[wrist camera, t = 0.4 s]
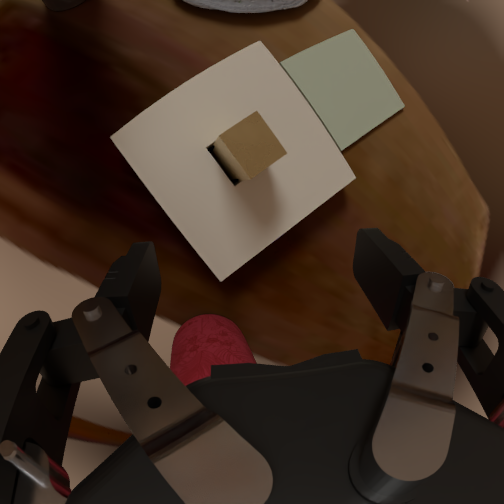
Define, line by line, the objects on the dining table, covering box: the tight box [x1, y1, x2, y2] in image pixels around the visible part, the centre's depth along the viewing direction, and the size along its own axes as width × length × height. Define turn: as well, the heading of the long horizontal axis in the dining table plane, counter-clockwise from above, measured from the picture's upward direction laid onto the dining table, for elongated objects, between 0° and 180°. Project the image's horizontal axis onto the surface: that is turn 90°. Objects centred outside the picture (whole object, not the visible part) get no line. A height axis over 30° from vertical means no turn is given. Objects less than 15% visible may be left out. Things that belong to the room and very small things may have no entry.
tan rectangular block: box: [211, 111, 287, 181], centre depth 30 cm, size 5×4×11 cm
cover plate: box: [110, 41, 356, 282], centre depth 34 cm, size 20×20×4 cm
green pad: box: [279, 29, 405, 151], centre depth 36 cm, size 14×14×1 cm
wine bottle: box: [170, 314, 257, 386], centre depth 25 cm, size 10×10×30 cm
